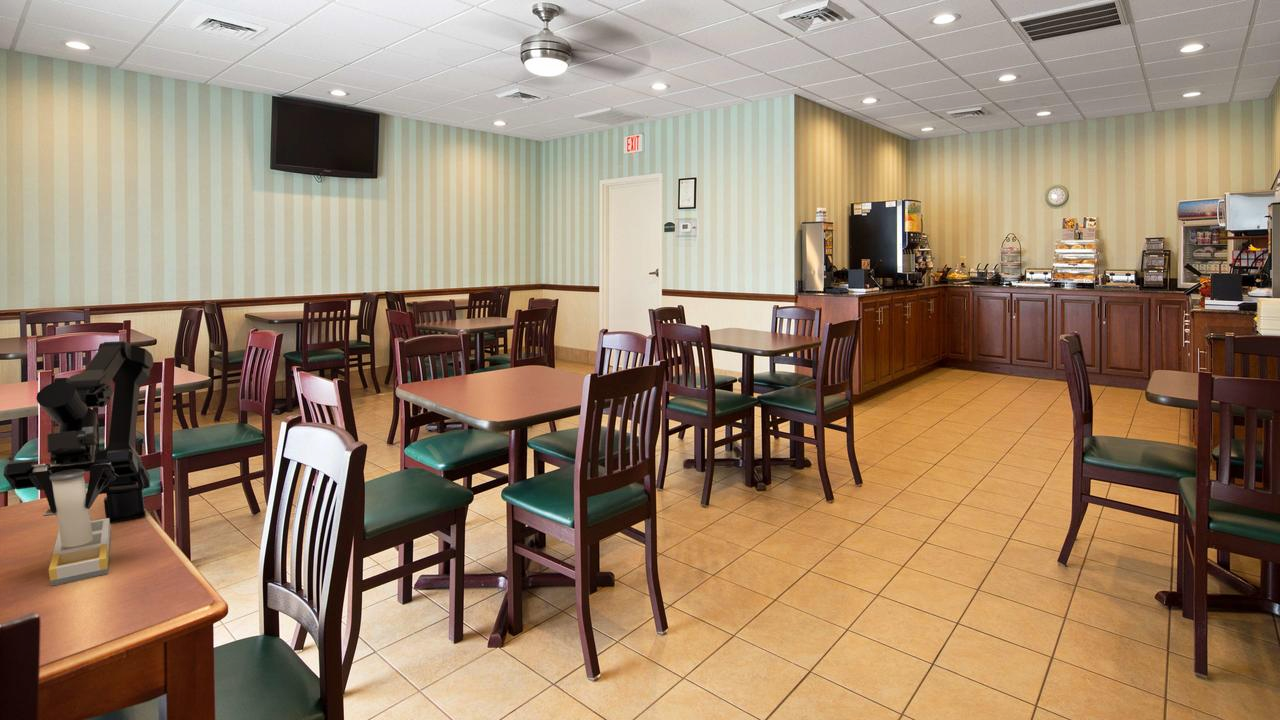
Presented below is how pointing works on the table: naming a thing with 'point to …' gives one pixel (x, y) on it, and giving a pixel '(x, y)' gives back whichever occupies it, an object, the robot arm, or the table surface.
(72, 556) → the socket bank
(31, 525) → the table surface
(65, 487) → the post
